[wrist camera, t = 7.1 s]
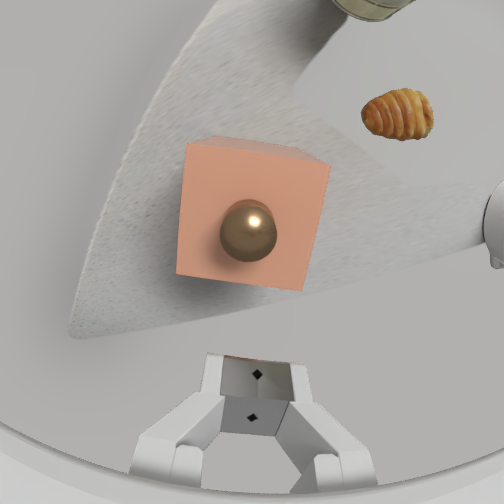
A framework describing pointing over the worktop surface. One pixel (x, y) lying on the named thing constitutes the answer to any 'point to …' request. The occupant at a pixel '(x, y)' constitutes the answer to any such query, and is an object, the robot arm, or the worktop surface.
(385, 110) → the pastry
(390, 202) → the worktop surface
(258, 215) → the plunger
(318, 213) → the block
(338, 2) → the coffee can
